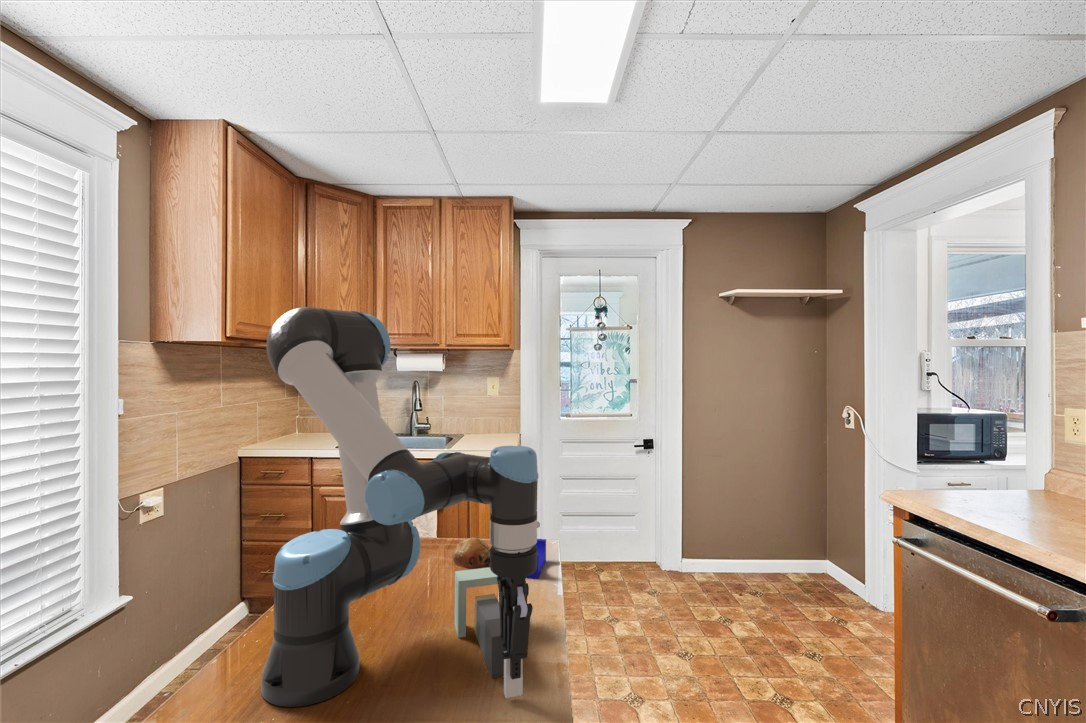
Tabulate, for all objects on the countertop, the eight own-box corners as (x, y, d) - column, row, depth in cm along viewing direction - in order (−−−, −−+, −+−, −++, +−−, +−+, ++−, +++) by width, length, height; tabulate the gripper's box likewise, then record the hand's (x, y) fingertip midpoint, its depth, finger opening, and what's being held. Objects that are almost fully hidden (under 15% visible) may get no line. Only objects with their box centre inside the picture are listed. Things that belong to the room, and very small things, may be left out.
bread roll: (481, 566, 145) (474, 537, 147) (501, 560, 138) (494, 530, 140) (450, 576, 138) (444, 546, 140) (470, 570, 131) (463, 538, 134)
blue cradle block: (529, 560, 140) (529, 538, 140) (545, 561, 140) (546, 539, 140) (520, 578, 129) (520, 554, 129) (537, 580, 128) (538, 555, 128)
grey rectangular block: (491, 678, 88) (491, 637, 88) (474, 631, 103) (474, 596, 103) (514, 674, 89) (514, 633, 89) (494, 628, 104) (494, 593, 104)
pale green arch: (458, 637, 100) (458, 581, 100) (454, 625, 105) (454, 571, 105) (513, 629, 104) (513, 574, 104) (507, 617, 108) (507, 565, 108)
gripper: (549, 557, 77) (548, 715, 77) (525, 530, 89) (524, 666, 89) (500, 562, 75) (499, 726, 75) (482, 534, 87) (481, 674, 87)
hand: (513, 693), depth 82 cm, fingers closed
